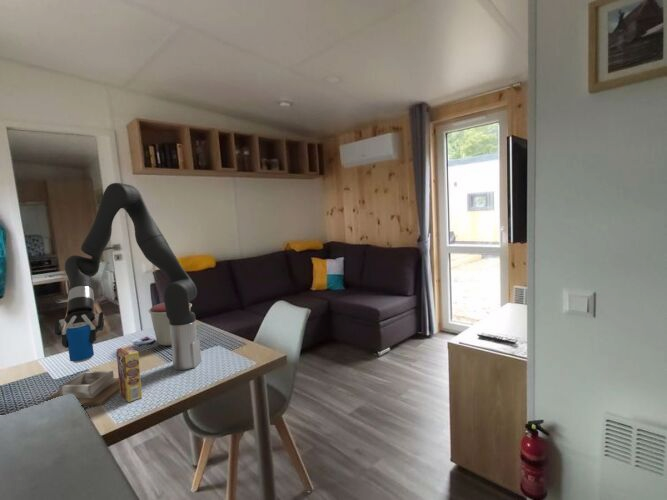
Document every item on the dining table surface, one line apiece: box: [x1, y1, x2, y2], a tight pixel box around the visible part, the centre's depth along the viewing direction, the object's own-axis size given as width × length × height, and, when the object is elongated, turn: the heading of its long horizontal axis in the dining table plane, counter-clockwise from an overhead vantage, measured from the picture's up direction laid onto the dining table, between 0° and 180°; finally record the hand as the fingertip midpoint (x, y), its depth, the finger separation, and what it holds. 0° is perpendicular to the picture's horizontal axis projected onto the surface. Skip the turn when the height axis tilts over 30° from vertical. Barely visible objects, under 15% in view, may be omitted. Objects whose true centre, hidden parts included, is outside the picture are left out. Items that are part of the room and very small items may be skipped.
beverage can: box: [66, 322, 95, 364], centre depth 113 cm, size 6×6×12 cm
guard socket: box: [39, 370, 120, 407], centre depth 112 cm, size 20×16×5 cm
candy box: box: [116, 345, 143, 403], centre depth 109 cm, size 9×4×15 cm, turn 47°
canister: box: [148, 302, 193, 347], centre depth 157 cm, size 18×18×21 cm
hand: (79, 344), depth 111 cm, fingers closed on beverage can, 6 cm apart
